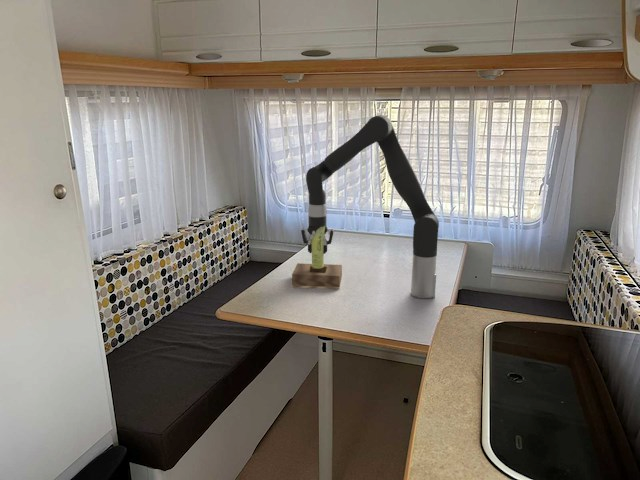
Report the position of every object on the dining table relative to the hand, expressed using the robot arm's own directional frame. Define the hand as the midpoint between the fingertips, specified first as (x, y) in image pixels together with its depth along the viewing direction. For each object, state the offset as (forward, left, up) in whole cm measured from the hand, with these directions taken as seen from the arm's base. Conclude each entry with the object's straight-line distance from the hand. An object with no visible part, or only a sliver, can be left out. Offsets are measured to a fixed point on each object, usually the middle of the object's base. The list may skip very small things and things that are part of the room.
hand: (317, 252), depth 204 cm
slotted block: (0, 0, -14) cm, 14 cm away
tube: (0, 0, -7) cm, 7 cm away
